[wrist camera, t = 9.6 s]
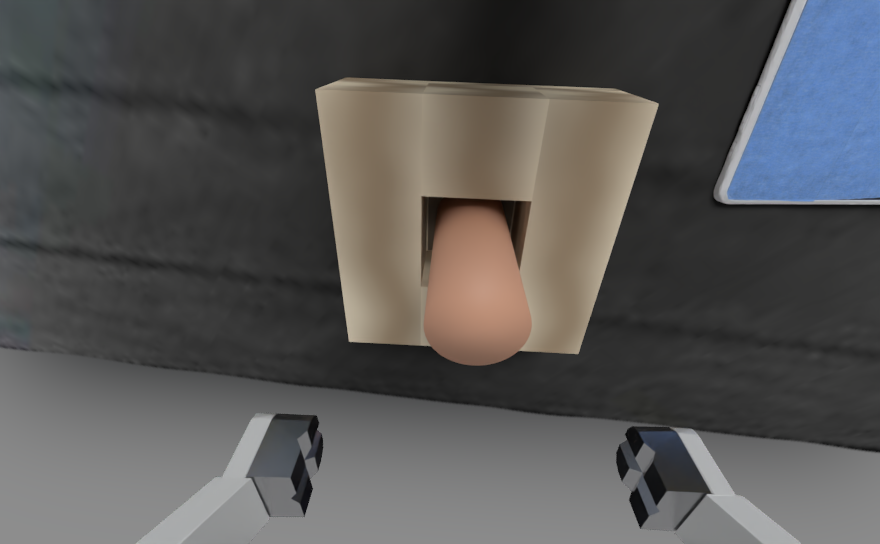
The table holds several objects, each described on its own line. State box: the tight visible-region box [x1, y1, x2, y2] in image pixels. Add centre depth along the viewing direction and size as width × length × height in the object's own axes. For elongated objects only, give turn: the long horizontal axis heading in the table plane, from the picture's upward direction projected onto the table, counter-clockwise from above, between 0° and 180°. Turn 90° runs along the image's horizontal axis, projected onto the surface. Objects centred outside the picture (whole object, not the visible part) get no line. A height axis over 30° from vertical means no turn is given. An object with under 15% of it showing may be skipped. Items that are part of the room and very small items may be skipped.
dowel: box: [424, 197, 532, 366], centre depth 18 cm, size 4×4×10 cm
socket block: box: [315, 78, 659, 354], centre depth 21 cm, size 14×14×5 cm
